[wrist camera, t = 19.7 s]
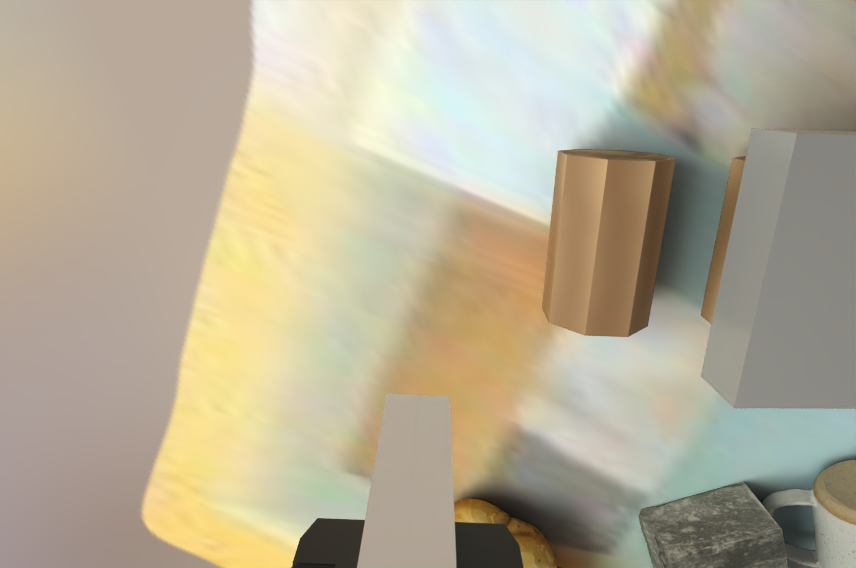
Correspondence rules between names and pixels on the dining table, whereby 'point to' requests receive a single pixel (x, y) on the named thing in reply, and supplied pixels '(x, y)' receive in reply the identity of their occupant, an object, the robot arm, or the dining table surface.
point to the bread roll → (532, 542)
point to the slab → (789, 276)
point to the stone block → (714, 532)
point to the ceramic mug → (825, 517)
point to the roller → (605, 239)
